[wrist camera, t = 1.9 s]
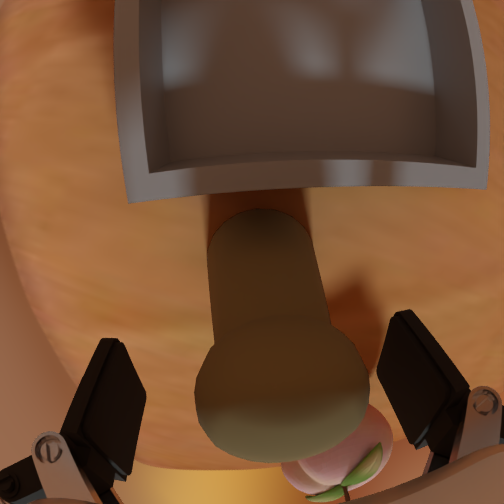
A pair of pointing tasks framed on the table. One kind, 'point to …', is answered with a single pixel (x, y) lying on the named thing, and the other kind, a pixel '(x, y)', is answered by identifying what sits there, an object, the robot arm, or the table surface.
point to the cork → (274, 347)
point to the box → (299, 95)
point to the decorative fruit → (344, 461)
